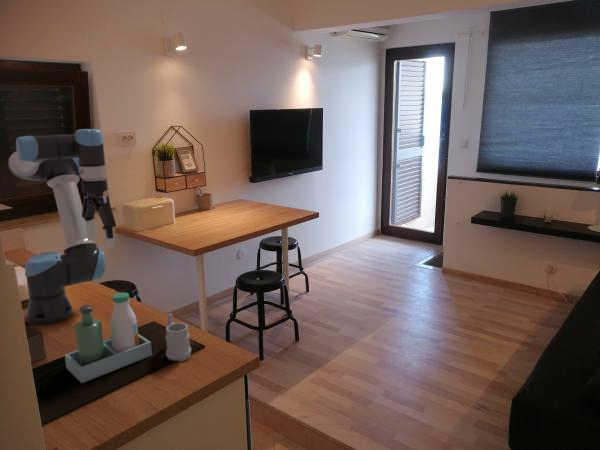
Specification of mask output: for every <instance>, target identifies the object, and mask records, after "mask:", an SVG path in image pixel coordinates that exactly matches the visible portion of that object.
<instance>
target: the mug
mask: <svg viewBox="0 0 600 450" xmlns="http://www.w3.org/2000/svg"><path fill="white" fill-rule="evenodd" d="M188 327H189V326H188V324H186V323H184V322H174V317H173V314H172V313H168V314H167V326H166V328H165V331H166V333H165V334H166V335H165V341H166V350H165V356H166V357H167V359H168V360H169V361H178V362H185V361H186V360H188V359H189V358H190V357H191V353H192V347H191V346H190V345H191V344H190V333H189V328H188Z"/></svg>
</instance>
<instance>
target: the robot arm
mask: <svg viewBox="0 0 600 450" xmlns="http://www.w3.org/2000/svg"><path fill="white" fill-rule="evenodd" d="M15 149H16V151H14V152H13V153H12V154H11V155H10V157H9V158H8V160H7V161H8V162H7V166H8V169H9V170H10V172H11V174H13V175H14V176H16V177H18V178H20V179H22V180H27V181H31V182H32V181H34V182H35V181H36V182H38V181H46V185H47V186H48V187H50V188H52V191H53V195H54V199H55V203H56V207H57V211H58V215H59V219H60V223H61V227H62V231H63V235H64V239H65V244H66V246H65V248H64V249H63V254H61V253H60V252H59V251H45V252H42V253H38V254H36V255H33V256H32V257H30V258H29V259H27V260H26V262H25V264H24V272H25V273H24V275H25V277H26V284H27V291H28V292H27V293H28V300H29V301H28V304H27V305H28V306H27V309H26V315H25V316H26V317H25V318H26V321H27V323H28V324H30V325H34V326H47V325H52V324H57V323H60V322H62V321H65V320H67V319H69V318H70V317H71V316H73V313H74V309H73V306H72V303H71V302H70V299H69V298H68V296H67V295H66V290H65V287H69V286H74V285H79V284H82V283H88V282H94V281H96V280H100V279H102V278H103V277H104V276H105V272H106V256H105V251H104V249H103V248H101V247H98V245H97V243H96V242H94V241H93V240H96V239H97V231H96V230H97V229H96V221H95V219H96V218H95V215H96V212H97V214H98V216H99V218H100V220H101V222H102V225H103V227H102V231H103V239H104V248H105V249H106V250H107V249H112V248H115V247H116V246H115V237H114V227H117V223H116V220H115V217H114V214H113V210H112V207H111V204H110V198H109V195H106V196H104V192H107V191H108V180H107V179H106V178H107V167H106V161H105V151H104V139H103V134H102V131H101V129H96V128H83V129H82V128H81V129H77V130H75V133H73V134H56V135H55V134H54V135H25V136H18V137H17V138H16V140H15ZM80 178H81V181H80ZM79 182H80V184H81V191H82V196H83V200H82V199H81V195H80V193H79V188H78V185H77V184H78V183H79Z"/></svg>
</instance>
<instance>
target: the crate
mask: <svg viewBox="0 0 600 450" xmlns="http://www.w3.org/2000/svg"><path fill="white" fill-rule="evenodd" d="M138 338H139V345H138V346H136V347H133V348H130V349H128V350H125V351H122V352H120V353H116V352H115V351H114V350H113V349H112V340H111V338H108V339H105V340H103V343H104V352H105V358H104V359H101V360H98V361H96V362H93V363H90V364H88V365H85V366H82V367H81V366H80V365H79V357H78V349H77V350H73V351H72V352H68V353H66V354H64V360H65V367H66V370H67V371H69V372H70V374H71V375H73V376H74V378H75V379H77V380H78V382H80V384H83V383H86V382H89V381H91V380H93V379H96V378H98V377H101V376H104V375H106V374H108V373H112V372H113V371H116V370H118V369H121V368H123V367H126V366H129V365H132V364H134V363H136V362H139V361H142V360H144V359H146V358H149V357H151V356H153V351H152V342H151V341H150V340H148V339H147V338H146V337H144V336H142V335H141V334H140V333H138Z"/></svg>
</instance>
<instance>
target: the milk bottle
mask: <svg viewBox="0 0 600 450" xmlns="http://www.w3.org/2000/svg"><path fill="white" fill-rule="evenodd" d="M112 304H113V306H114V307H113V310H112V313H111V315H110V319H109V327H110V339H111V340H112V349H113V350H114V351H115V352H116V353H120V352H122V351H125V350H128V349H130V348H133V347H136V346H138V345H139V338H138V334H139V330H138V320H137V316H136V314H135V312H134V311H133V309H132V307H131V305H130V294H129V293H128V292H117V293H114V294H113V295H112Z"/></svg>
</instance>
